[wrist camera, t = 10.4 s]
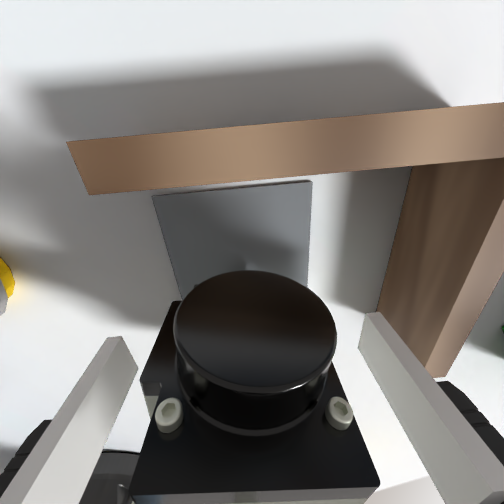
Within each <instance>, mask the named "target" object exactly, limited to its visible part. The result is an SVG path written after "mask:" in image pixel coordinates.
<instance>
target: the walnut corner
mask: <svg viewBox="0 0 504 504" xmlns="http://www.w3.org/2000/svg"><path fill="white" fill-rule="evenodd" d="M66 143H67V145H68V148H69V150H70V152H71V155H72V157H73V159H74V162H75V164H76V166H77V169H78V171H79V173H80V176H81V178H82V180H83V183H84V185H85V187H86V189H87V192H88V194H89V195H97V194H108V193H119V192H130V191H141V190H152V189H163V188H174V187H185V186H196V185H207V184H218V183H229V182H240V181H251V180H262V179H273V178H284V177H295V176H306V175H317V174H328V173H339V172H350V171H361V170H371V169H382V168H393V167H404V166H413V167H412V171H411V175H410V179H409V183H408V187H407V191H406V195H405V199H404V203H403V207H402V211H401V215H400V219H399V223H398V226H397V230H396V234H395V238H394V242H393V246H392V250H391V254H390V258H389V262H388V266H387V270H386V274H385V278H384V282H383V286H382V290H381V294H380V298H379V302H378V306H377V310H376V312H380V313H381V314H382V315H383V317H384V318H385V319H386V320H387V322H388V323H389V324H390V325H391V327H392V328H393V329H394V330H395V332H396V333H397V334H398V335H399V336H400V338H401V339H402V340H403V341H404V343H405V344H406V345H407V346H408V348H409V349H410V350H411V351H412V353H413V354H414V355H415V356H416V358H417V359H418V360H419V361H420V363H421V364H422V365H423V366H424V368H425V369H426V370H427V371H428V373H429V374H430V375H431V376H432V378H438V377H445V376H446V375H447V373H448V371H449V369H450V367H451V366H452V364H453V362H454V360H455V359H456V357H457V355H458V353H459V351H460V350H461V348H462V346H463V344H464V342H465V341H466V339H467V337H468V335H469V333H470V332H471V330H472V328H473V326H474V324H475V323H476V321H477V319H478V317H479V315H480V314H481V312H482V310H483V308H484V306H485V305H486V303H487V301H488V299H489V297H490V296H491V294H492V292H493V290H494V288H495V287H496V285H497V283H498V281H499V279H500V278H501V276H502V274H503V272H504V102H502V103H491V104H480V105H469V106H457V107H446V108H435V109H424V110H413V111H402V112H391V113H380V114H369V115H357V116H346V117H335V118H324V119H313V120H302V121H291V122H280V123H269V124H258V125H246V126H235V127H224V128H213V129H202V130H191V131H180V132H169V133H158V134H146V135H135V136H124V137H113V138H102V139H91V140H80V141H69V142H66Z"/></svg>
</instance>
